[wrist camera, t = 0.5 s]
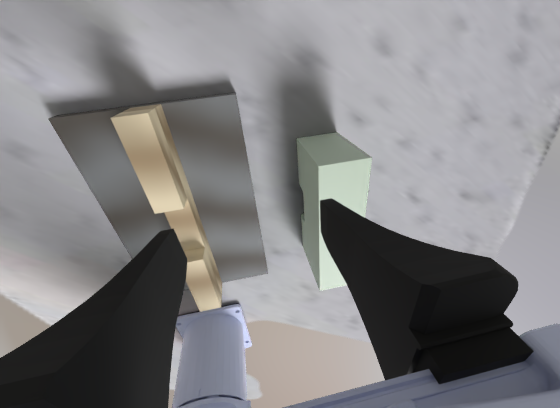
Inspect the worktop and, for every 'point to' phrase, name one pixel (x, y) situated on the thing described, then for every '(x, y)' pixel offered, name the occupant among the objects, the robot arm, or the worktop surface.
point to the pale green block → (329, 194)
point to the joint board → (202, 166)
